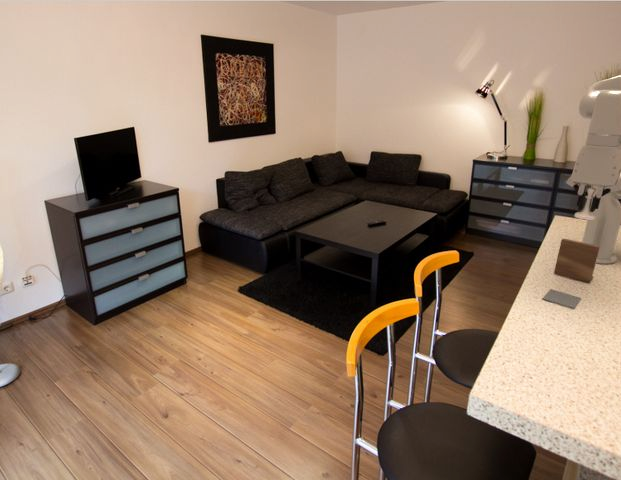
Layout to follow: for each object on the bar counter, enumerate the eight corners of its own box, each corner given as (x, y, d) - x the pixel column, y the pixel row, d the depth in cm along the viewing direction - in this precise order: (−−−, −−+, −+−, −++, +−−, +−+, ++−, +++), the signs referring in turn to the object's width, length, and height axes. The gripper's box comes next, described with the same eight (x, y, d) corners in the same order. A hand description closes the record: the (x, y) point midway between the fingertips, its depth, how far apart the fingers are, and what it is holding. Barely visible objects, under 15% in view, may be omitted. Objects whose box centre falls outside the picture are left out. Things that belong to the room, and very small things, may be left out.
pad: (550, 290, 122) (550, 289, 122) (581, 299, 117) (581, 297, 117) (542, 299, 117) (542, 298, 117) (574, 309, 112) (574, 308, 112)
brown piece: (558, 269, 136) (565, 235, 132) (593, 278, 130) (602, 243, 126) (553, 274, 133) (561, 239, 129) (589, 283, 126) (598, 247, 122)
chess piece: (598, 220, 110) (608, 183, 106) (578, 219, 110) (587, 182, 107) (590, 215, 114) (599, 180, 111) (571, 214, 115) (579, 179, 112)
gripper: (644, 142, 103) (624, 213, 109) (571, 137, 113) (557, 202, 119) (639, 145, 98) (619, 219, 104) (564, 139, 108) (550, 207, 114)
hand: (586, 209), depth 112 cm, fingers closed on chess piece
